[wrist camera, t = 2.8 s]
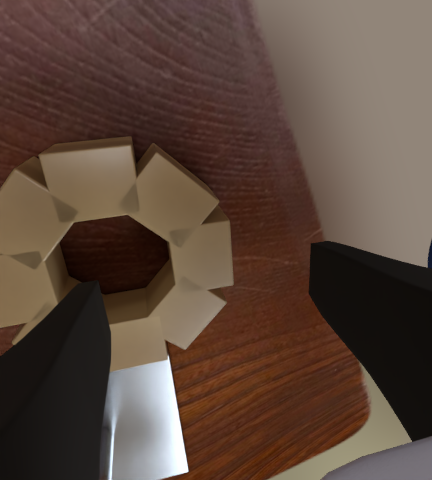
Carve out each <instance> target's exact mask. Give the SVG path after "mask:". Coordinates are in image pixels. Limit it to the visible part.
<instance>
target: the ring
mask: <svg viewBox="0 0 432 480" xmlns="http://www.w3.org/2000/svg"><path fill="white" fill-rule="evenodd" d="M218 203H219V200H218V198H217V197H216V196H215V195H214V193H213V192H212V191H211V190H210V188H209V187H208V186H207V185H206V184H205V183H204V182H202V181H201V180H200V179H199V178H197V177H196V176H195V175H194V174H192V173H191V172H190V171H188V170H187V169H186V168H185V167H183V166H182V165H181V164H180V163H178V162H177V161H176V160H175V159H173V158H172V157H171V156H170V155H168V154H167V153H166V152H165V151H163V150H162V149H161V148H160V147H158V146H157V145H156V144H155V143H152V144H151V146H150V147H149V148H148V150H147V151H146V152H145V154H144V155H143V156H142V158H141V159H140V160H139V162H138V163H137V164H136V159H135V153H134V147H133V141H132V137H131V136H127V137H117V138H107V139H98V140H88V141H78V142H69V143H59V144H54V145H52V146H51V147H49V148H48V149H46V150H45V151H43V152H42V153H40V154H39V159H38V158H36V157H34V156H33V157H32V158H30V159H28V160H27V161H25V162H24V163H22V164H21V165H19V166H18V167H16V168H14V169H13V170H12V172H11V173H10V175H9V176H8V178H7V179H6V181H5V182H4V184H3V185H2V187H1V188H0V328H1V327H6V326H12V325H17V324H20V326H19V328H18V330H17V332H16V334H15V336H14V338H13V340H12V344H13V345H15V344H16V343H18V342H19V341H20V340H21V339H22V338H23V337H24V336H25V335H26V334H28V333H29V332H30V331H31V330H32V329H33V328H34V327H35V326H36V325H37V324H38V323H39V322H40V321H42V320H43V319H44V318H45V317H46V316H47V315H48V314H49V313H50V312H51V311H52V310H53V308H54V307H55V306H56V305H57V304H58V303H59V302H60V301H61V300H62V299H63V298H64V297H65V296H66V295H67V294H68V293H69V292H70V291H71V290H72V289H73V288H74V287H75V286H76V285H77V284H78V283H82V282H80V281H78V280H76V279H74V278H72V277H70V276H69V275H68V271H67V268H66V264H65V261H64V257H63V254H62V250H61V247H60V243H59V242H60V241H61V239H62V238H63V237H64V235H65V234H66V233H67V231H68V230H69V229H70V227H71V226H72V224H73V223H74V222H80V221H87V220H94V219H101V218H108V217H115V216H122V215H129V216H130V217H132V218H133V219H135V220H136V221H138V222H139V223H141V224H142V225H144V226H145V227H147V228H148V229H150V230H151V231H153V232H154V233H156V234H157V235H159V236H160V237H162V238H163V239H165V240H166V241H167V246H168V252H169V260H168V261H167V262H166V264H165V265H164V266H163V267H162V268H161V270H160V271H159V272H158V273H157V275H156V276H155V277H154V278H153V279H152V281H151V282H150V283H149V284H148V285H147V287H146V288H141V289H136V290H130V291H124V292H119V293H113V294H107V295H104V294H102V293H101V294H102V298H103V302H104V306H105V310H106V314H107V318H108V322H109V326H110V330H111V366H110V372H112V371H117V370H122V369H126V368H131V367H136V366H140V365H145V364H150V363H155V362H159V361H164V360H168V354H167V346H166V340H167V341H169V342H171V343H173V344H175V345H176V346H178V347H180V348H182V349H184V350H185V349H186V348H187V347H188V346H189V345H190V344H191V343H192V342H193V340H194V339H195V338H196V337H197V336H198V335H199V334H200V333H201V331H202V330H203V329H204V328H205V327H206V326H207V325H208V324H209V322H210V321H211V320H212V319H213V318H214V317H215V316H216V314H217V313H218V312H219V311H220V310H221V309H222V308H223V307H224V305H225V304H226V303H227V301H226V299H225V296H224V294H223V292H222V290H221V287H225V286H231V285H233V284H234V280H233V264H232V248H231V233H230V220H229V219H228V218H227V216H226V215H225V214H224V212H223V211H222V210H221V208H220V207H219V206H218Z"/></svg>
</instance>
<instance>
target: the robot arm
mask: <svg viewBox="0 0 432 480" xmlns="http://www.w3.org/2000/svg"><path fill="white" fill-rule="evenodd" d="M309 295H310V296H311V298H312V300H313V302H314V303H315V305H316V307H317V308H318V310H319V312H320V313H321V315H322V316H323V318H324V319H325V320H326V321H327V323H328V324H329V325H330V326H331V328H332V329H333V330H334V331H335V332H336V334H337V335H338V336H339V337H340V338H341V340H342V341H343V342H344V343H345V344H346V346H347V347H348V348H349V349H350V351H351V352H352V353H353V354H354V355H355V357H356V358H357V359H358V360H359V361H360V363H361V364H362V365H363V366H364V368H365V369H366V370H367V372H368V373H369V374H370V376H371V377H372V379H373V380H374V382H375V383H376V384H377V386H378V388H379V389H380V391H381V392H382V394H383V395H384V397H385V398H386V400H387V401H388V403H389V404H390V406H391V407H392V409H393V411H394V412H395V414H396V415H397V417H398V419H399V420H400V422H401V424H402V425H403V427H404V428H405V430H406V431H407V433H408V435H409V437H410V438H411V440H412V442H411V443H407V444H404V445H400V446H397V447H393V448H390V449H387V450H383V451H380V452H376V453H373V454H370V455H366V456H362V457H360V458H358V459H356V460H354V461H352V462H350V463H347V464H346V465H343V466H341V467H339V468H337V469H335V470H333V471H331V472H328V473H327V474H326V475H325V476H324V477H323V478H322V479H321V480H432V269H431V268H426V267H421V266H417V265H413V264H409V263H405V262H401V261H398V260H394V259H390V258H387V257H384V256H380V255H377V254H374V253H370V252H367V251H364V250H361V249H357V248H354V247H351V246H347V245H343V244H340V243H336V242H331V241H324V242H318V243H312V244H311V254H310V278H309ZM110 366H111V330H110V326H109V322H108V318H107V314H106V310H105V306H104V302H103V298H102V294H101V290H100V286H99V282H98V280H96V281H90V282H84V283H78V284H77V285H76V286H75V287H74V288H73V289H72V290H71V291H70V292H69V293H68V294H67V295H66V296H65V297H64V298H63V299H62V300H61V301H60V302H59V303H58V304H57V305H56V306H55V307H54V308H53V310H52V311H51V312H50V313H49V314H48V315H47V316H46V317H45V318H44V319H43V320H42V321H40V322H39V323H38V324H37V325H36V326H35V327H34V328H33V329H32V330H31V331H30V332H29V333H28V334H26V335H25V336H24V337H23V338H22V339H21V340H20V341H19V342H18V343H16V344H15V345H14V346H13V347H12V348H10V349H9V350H8V351H7V352H5V353H4V354H3V355H2V356H0V480H99V470H100V443H101V432H102V423H103V416H104V409H105V402H106V395H107V388H108V381H109V373H110Z"/></svg>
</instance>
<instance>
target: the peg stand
mask: <svg viewBox="0 0 432 480" xmlns="http://www.w3.org/2000/svg"><path fill="white" fill-rule="evenodd" d="M166 346H167V354H168V360H164V361H159V362H155V363H150V364H145V365H140V366H136V367H131V368H126V369H122V370H117V371H112V372H110V373H109V381H108V388H107V395H106V402H105V409H104V416H103V423H102V432H101V443H100V470H99V480H160V479H164V478H167V477H171V476H175V475H179V474H182V473H186V472H188V471H189V468H188V461H187V454H186V448H185V442H184V437H183V431H182V425H181V419H180V413H179V407H178V401H177V395H176V389H175V383H174V377H173V371H172V365H171V359H170V353H169V347H168V343H167V342H166Z"/></svg>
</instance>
